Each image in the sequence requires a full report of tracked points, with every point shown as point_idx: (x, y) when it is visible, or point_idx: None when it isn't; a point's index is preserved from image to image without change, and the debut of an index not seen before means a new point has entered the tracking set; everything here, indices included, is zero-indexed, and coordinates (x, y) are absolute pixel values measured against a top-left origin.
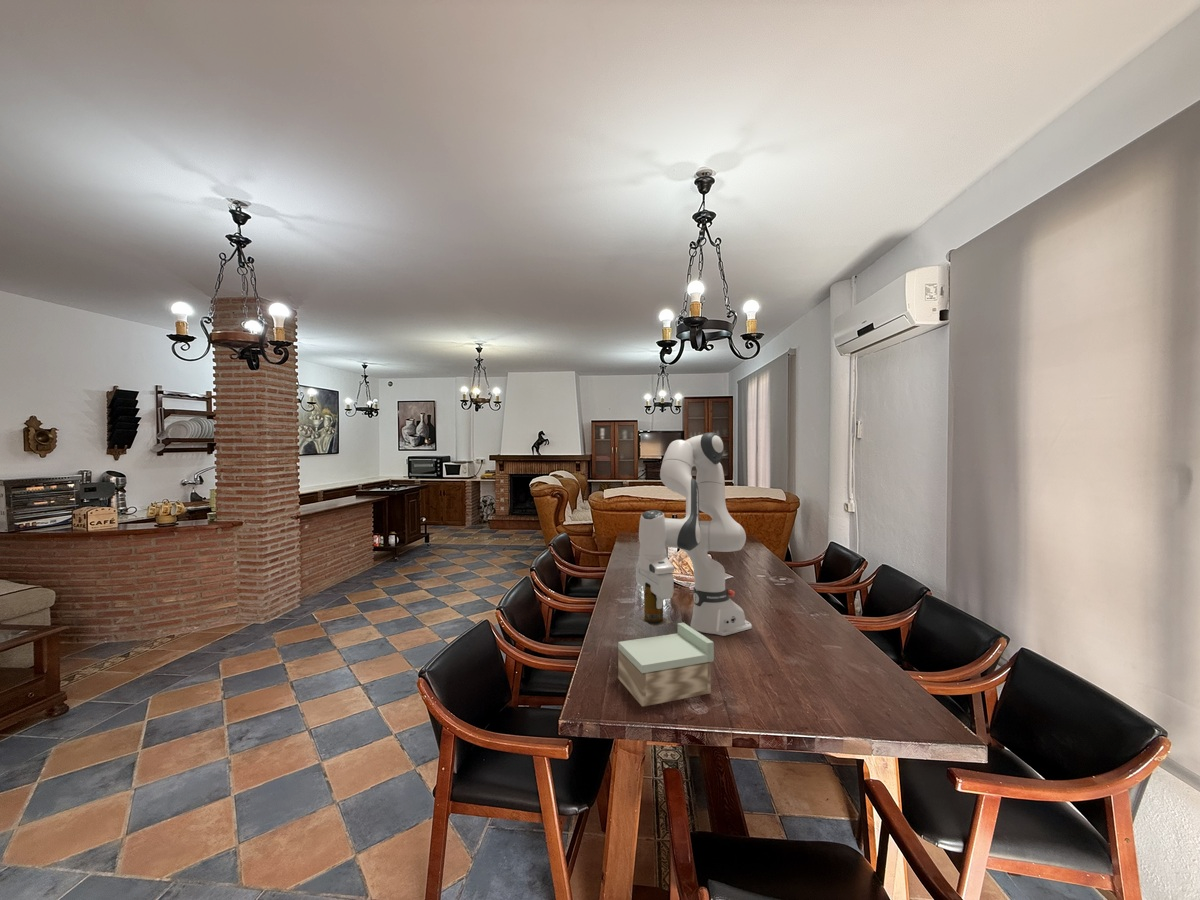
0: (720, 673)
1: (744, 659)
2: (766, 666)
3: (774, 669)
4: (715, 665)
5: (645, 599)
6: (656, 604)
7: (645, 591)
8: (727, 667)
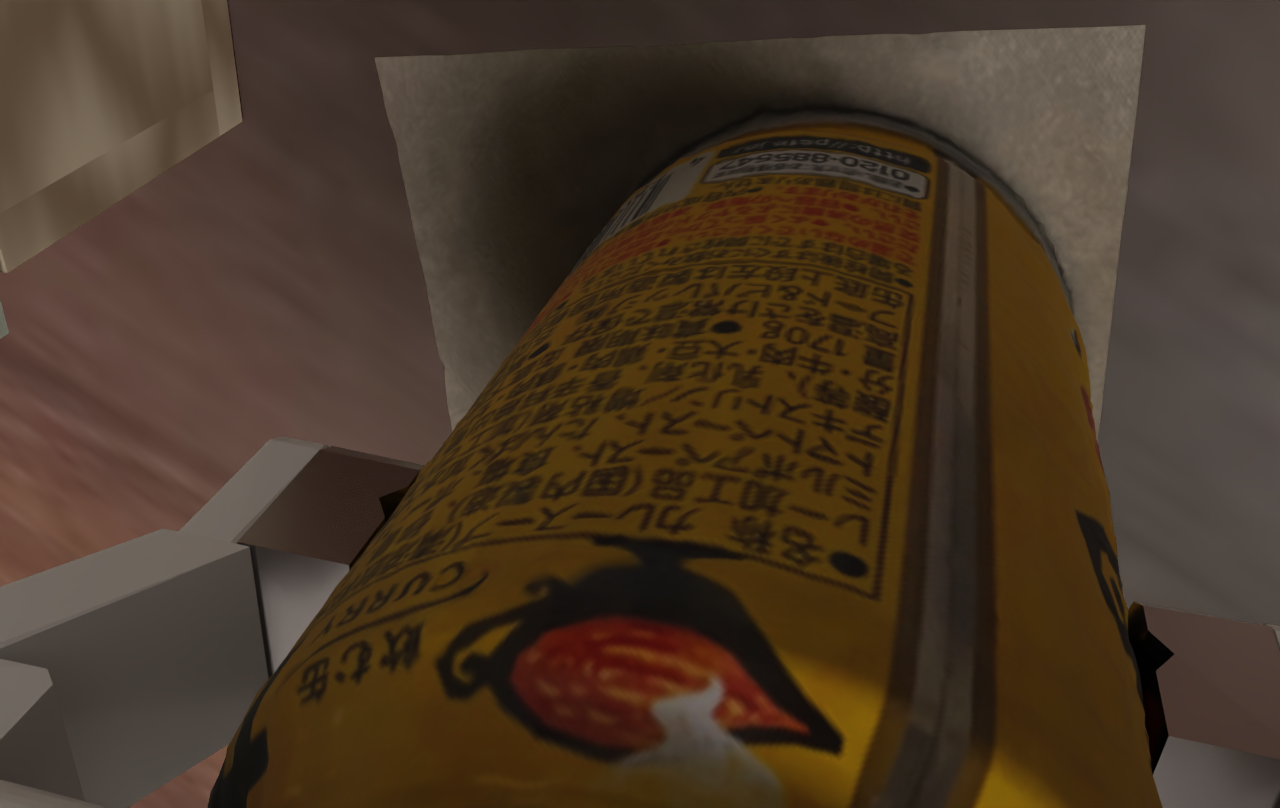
0: (45, 410)
1: None
2: None
3: None
4: None
5: (707, 411)
6: (260, 508)
7: (726, 751)
8: None
